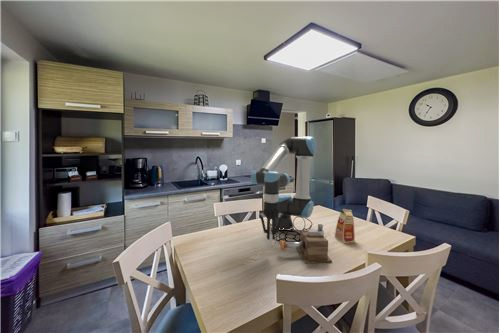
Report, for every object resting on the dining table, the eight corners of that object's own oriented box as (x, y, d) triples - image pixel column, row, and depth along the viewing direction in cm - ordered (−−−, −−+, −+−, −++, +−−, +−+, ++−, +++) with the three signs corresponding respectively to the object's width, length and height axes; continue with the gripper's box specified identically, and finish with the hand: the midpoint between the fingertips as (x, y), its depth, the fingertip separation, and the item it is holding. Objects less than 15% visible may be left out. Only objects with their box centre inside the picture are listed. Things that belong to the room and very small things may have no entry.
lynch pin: (280, 247, 118) (280, 238, 118) (307, 246, 119) (308, 237, 119) (282, 252, 113) (282, 242, 112) (311, 251, 114) (311, 242, 113)
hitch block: (296, 248, 125) (296, 229, 123) (319, 247, 125) (320, 229, 124) (304, 263, 109) (305, 242, 108) (332, 262, 110) (333, 241, 108)
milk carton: (343, 243, 131) (345, 211, 129) (333, 237, 140) (335, 206, 138) (356, 241, 133) (357, 209, 131) (345, 235, 142) (347, 205, 140)
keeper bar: (307, 233, 117) (307, 224, 117) (321, 233, 118) (322, 223, 117) (309, 236, 114) (309, 226, 114) (323, 235, 115) (324, 225, 114)
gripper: (259, 203, 108) (258, 248, 110) (285, 203, 109) (284, 248, 111) (258, 199, 116) (257, 242, 118) (282, 199, 117) (281, 241, 119)
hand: (270, 245), depth 115 cm, fingers closed
